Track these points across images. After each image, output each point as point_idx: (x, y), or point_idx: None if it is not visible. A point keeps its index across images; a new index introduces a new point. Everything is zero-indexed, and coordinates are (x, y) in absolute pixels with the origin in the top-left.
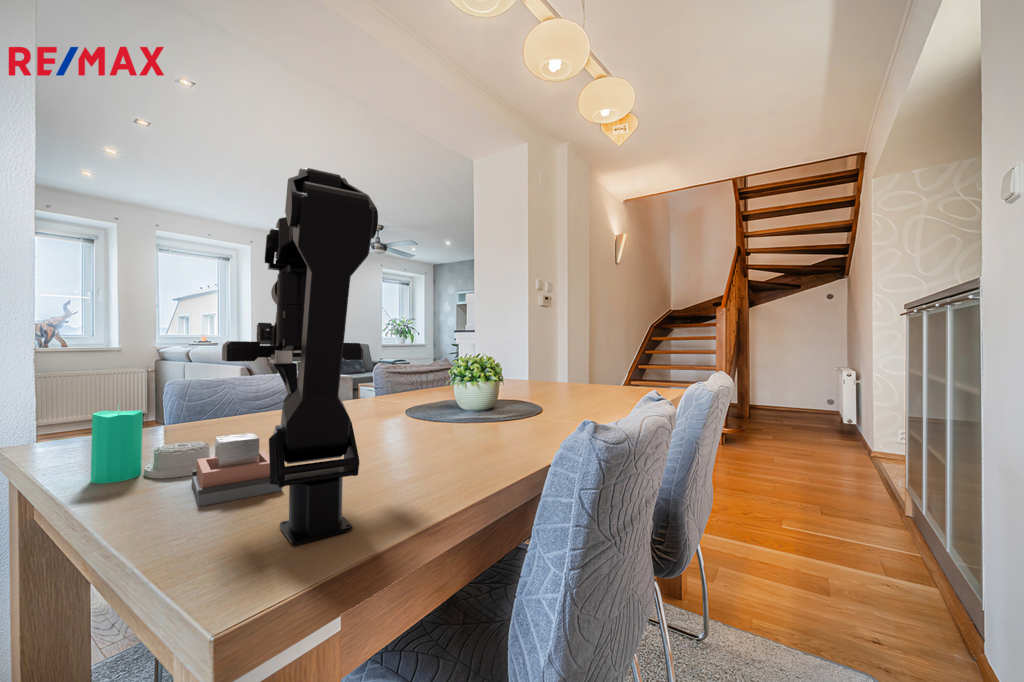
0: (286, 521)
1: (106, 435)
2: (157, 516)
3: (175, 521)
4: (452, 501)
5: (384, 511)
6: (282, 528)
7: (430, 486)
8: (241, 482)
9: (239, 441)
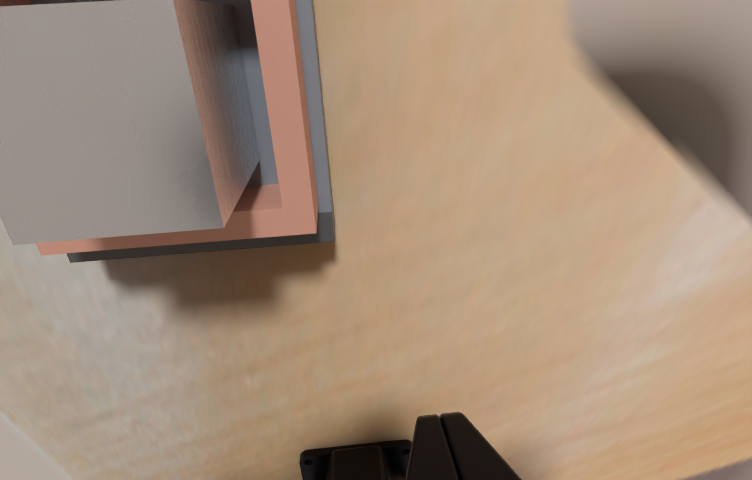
0: (312, 459)
1: None
2: (2, 264)
3: (70, 322)
4: (630, 470)
5: None
6: (302, 477)
7: (669, 383)
8: (200, 245)
9: (119, 233)
